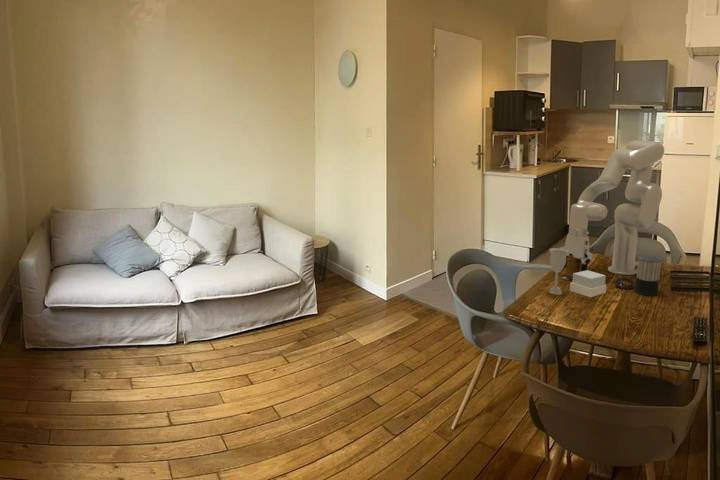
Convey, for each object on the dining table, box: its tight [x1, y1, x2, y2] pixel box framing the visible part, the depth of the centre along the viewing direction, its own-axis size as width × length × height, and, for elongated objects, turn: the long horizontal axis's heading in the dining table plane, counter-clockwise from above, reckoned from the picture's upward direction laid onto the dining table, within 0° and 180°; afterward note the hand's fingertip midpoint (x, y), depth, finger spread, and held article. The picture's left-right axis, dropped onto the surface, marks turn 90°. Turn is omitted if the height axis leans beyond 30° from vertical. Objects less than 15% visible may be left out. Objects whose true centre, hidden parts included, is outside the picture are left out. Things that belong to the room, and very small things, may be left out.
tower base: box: [569, 282, 607, 298], centre depth 246 cm, size 10×10×4 cm
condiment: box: [561, 253, 582, 281], centre depth 263 cm, size 7×8×12 cm
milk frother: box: [614, 254, 663, 297], centre depth 247 cm, size 14×16×15 cm
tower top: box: [571, 269, 607, 288], centre depth 245 cm, size 9×9×4 cm
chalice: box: [548, 247, 568, 296], centre depth 243 cm, size 7×7×18 cm
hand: (574, 269), depth 264 cm, fingers open, 9 cm apart
